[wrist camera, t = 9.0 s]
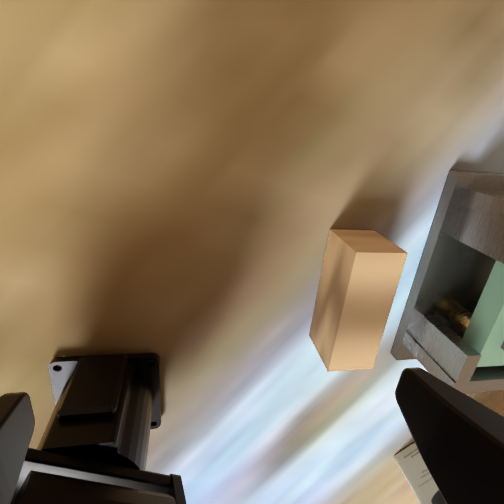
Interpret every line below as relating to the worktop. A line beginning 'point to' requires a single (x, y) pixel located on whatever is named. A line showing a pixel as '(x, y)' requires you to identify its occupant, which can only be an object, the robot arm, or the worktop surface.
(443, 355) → the chassis
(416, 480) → the ink box
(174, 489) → the robot arm
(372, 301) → the block
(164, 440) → the worktop surface
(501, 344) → the board
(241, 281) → the worktop surface
